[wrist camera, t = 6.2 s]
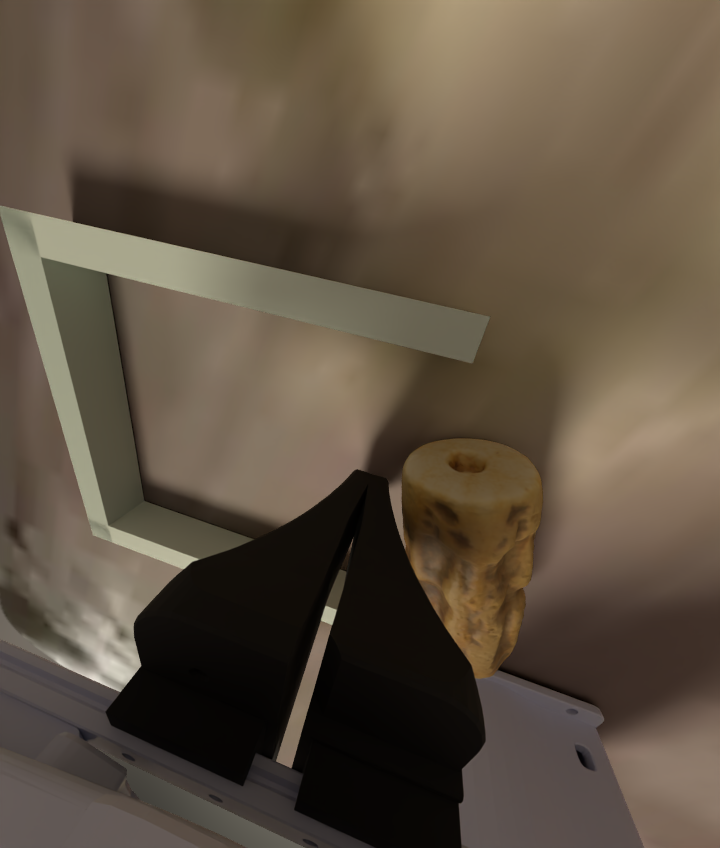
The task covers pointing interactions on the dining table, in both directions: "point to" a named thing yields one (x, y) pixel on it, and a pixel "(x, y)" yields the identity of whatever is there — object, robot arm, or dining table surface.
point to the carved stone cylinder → (473, 540)
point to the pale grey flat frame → (102, 371)
